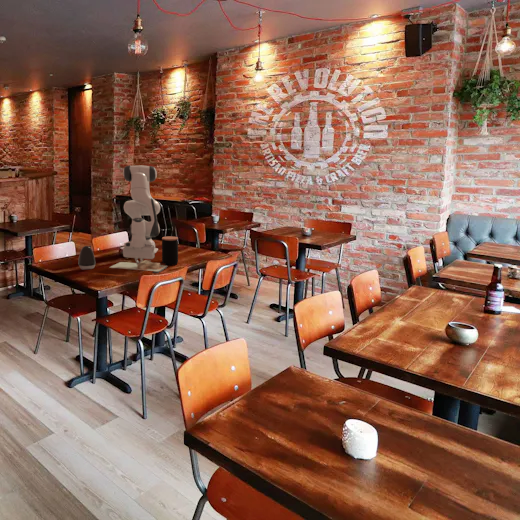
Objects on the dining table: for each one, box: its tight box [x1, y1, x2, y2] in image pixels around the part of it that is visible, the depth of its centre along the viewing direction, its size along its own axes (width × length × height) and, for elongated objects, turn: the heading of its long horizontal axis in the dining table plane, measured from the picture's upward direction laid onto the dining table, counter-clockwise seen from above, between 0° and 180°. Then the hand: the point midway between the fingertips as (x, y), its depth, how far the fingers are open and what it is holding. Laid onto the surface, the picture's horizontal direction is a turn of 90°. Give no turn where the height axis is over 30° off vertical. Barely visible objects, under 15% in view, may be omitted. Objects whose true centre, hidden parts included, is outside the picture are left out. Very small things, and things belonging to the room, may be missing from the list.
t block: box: [137, 259, 161, 269], centre depth 297 cm, size 12×12×3 cm
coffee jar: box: [161, 235, 179, 266], centre depth 312 cm, size 11×11×18 cm
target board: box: [109, 261, 169, 274], centre depth 299 cm, size 16×33×1 cm, turn 81°
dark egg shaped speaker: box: [77, 245, 97, 271], centre depth 289 cm, size 10×10×15 cm
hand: (139, 264), depth 298 cm, fingers closed
